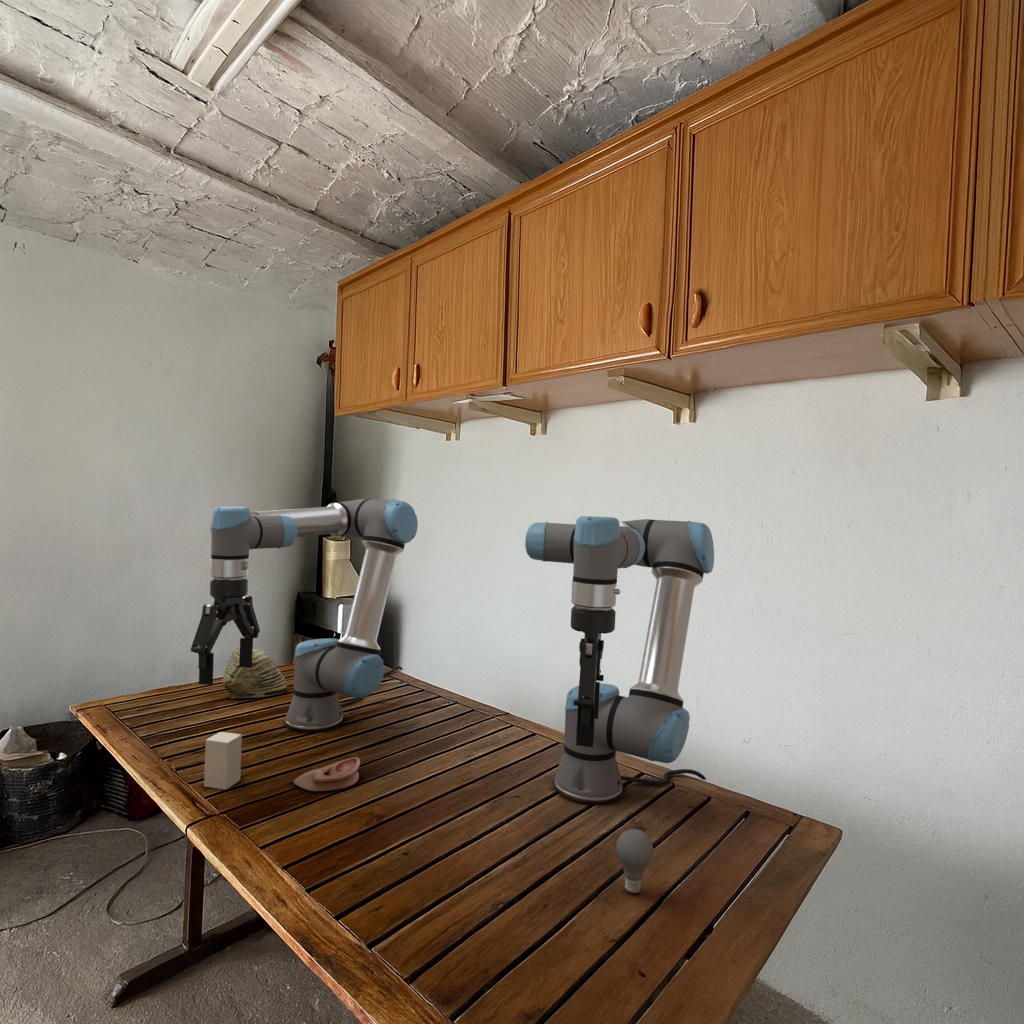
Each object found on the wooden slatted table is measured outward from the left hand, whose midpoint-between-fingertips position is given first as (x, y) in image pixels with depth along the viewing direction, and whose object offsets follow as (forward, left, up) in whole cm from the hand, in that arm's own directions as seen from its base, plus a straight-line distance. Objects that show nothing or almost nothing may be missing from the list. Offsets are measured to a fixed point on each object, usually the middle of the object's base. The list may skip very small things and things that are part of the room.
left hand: (226, 675), depth 138 cm
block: (0, 0, -24) cm, 24 cm away
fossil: (-36, -51, -24) cm, 67 cm away
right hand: (-24, +77, +2) cm, 81 cm away
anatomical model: (-16, +15, -24) cm, 32 cm away
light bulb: (-27, +85, -24) cm, 92 cm away
